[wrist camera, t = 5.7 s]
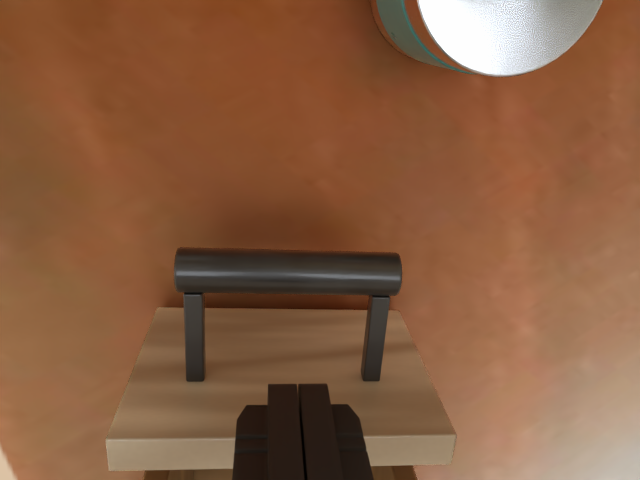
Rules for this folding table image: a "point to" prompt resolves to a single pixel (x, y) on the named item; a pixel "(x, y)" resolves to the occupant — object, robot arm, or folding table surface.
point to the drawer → (276, 364)
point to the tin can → (484, 32)
